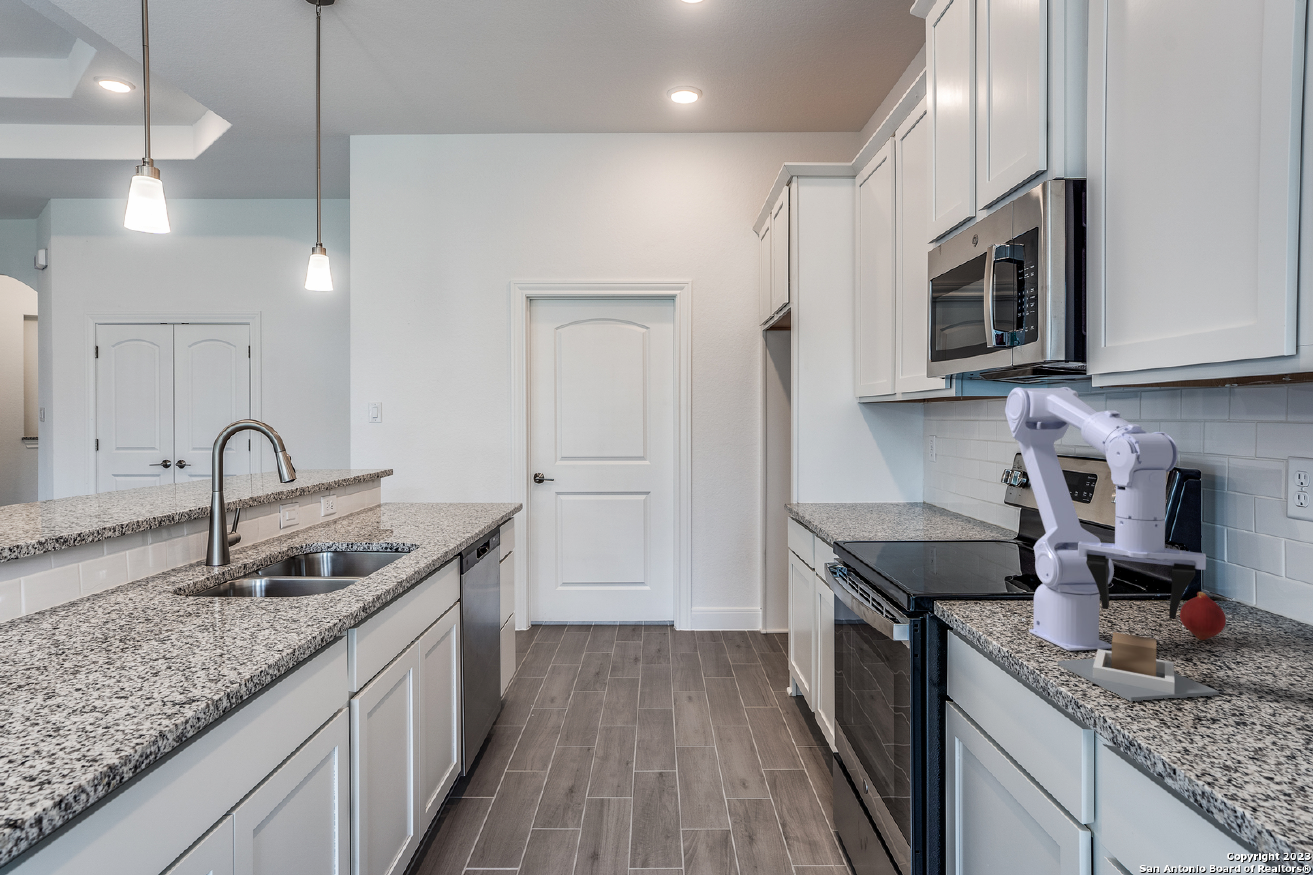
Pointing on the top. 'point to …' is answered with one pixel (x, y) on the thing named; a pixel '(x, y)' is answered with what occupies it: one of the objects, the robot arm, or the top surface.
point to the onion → (1202, 617)
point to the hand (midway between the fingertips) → (1138, 612)
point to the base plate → (1137, 691)
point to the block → (1134, 654)
